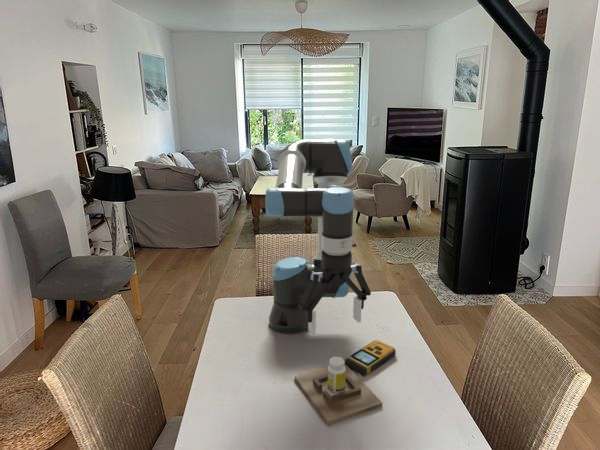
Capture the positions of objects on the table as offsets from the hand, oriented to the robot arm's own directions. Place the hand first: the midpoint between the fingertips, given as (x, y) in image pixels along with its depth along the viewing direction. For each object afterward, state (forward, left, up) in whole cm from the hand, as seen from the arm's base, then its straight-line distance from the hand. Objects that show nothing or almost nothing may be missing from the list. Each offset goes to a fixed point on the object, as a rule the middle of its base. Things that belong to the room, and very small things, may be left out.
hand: (334, 325), depth 116 cm
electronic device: (-7, +17, -20) cm, 27 cm away
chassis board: (+2, 0, -19) cm, 19 cm away
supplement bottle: (+2, 0, -18) cm, 18 cm away
